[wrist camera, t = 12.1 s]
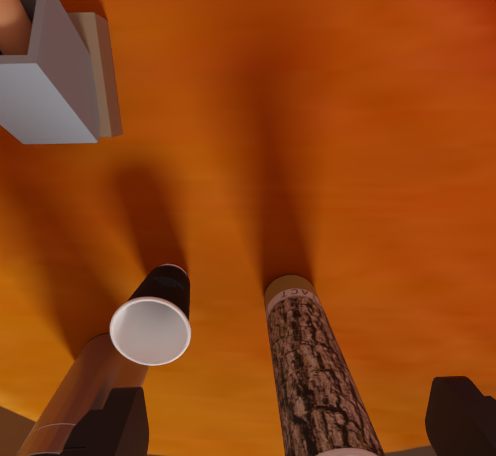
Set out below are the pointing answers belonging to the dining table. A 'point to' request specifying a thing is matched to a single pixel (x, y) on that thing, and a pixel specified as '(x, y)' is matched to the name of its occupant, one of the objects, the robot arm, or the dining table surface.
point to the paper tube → (313, 377)
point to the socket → (60, 79)
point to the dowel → (14, 28)
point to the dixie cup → (155, 318)
